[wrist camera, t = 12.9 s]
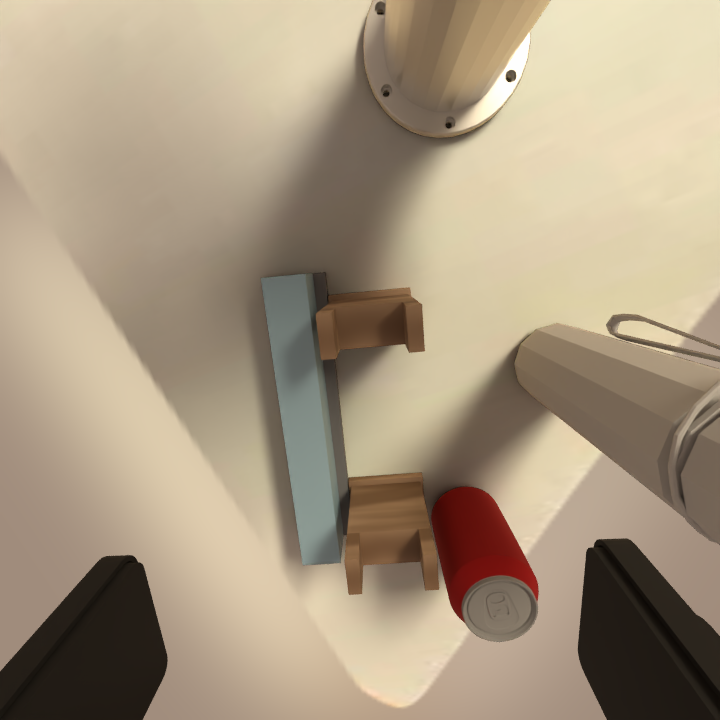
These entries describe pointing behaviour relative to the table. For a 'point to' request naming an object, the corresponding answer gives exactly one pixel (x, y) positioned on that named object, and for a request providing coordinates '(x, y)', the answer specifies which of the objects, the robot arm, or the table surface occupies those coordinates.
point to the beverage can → (483, 566)
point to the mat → (334, 411)
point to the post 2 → (388, 527)
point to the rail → (304, 415)
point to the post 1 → (370, 321)
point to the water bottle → (636, 409)
